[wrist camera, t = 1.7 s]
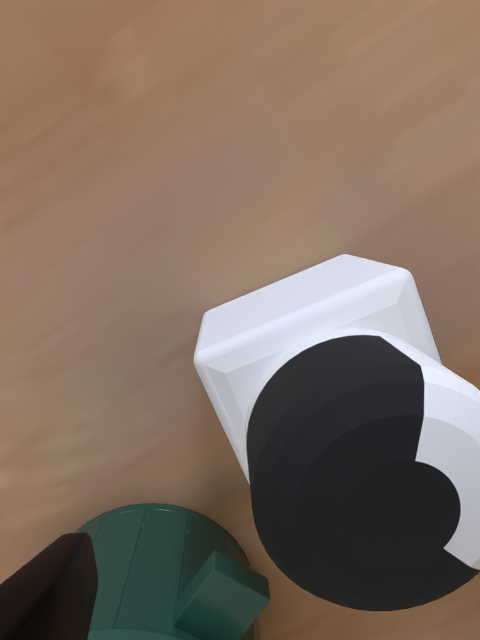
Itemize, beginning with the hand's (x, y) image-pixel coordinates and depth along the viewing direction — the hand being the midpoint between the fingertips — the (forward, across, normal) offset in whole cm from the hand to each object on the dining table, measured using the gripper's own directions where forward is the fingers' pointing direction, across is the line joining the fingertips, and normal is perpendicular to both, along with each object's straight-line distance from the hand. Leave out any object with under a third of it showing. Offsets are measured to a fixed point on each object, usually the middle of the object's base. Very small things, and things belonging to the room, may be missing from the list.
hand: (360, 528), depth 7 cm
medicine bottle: (+14, -1, +1) cm, 14 cm away
